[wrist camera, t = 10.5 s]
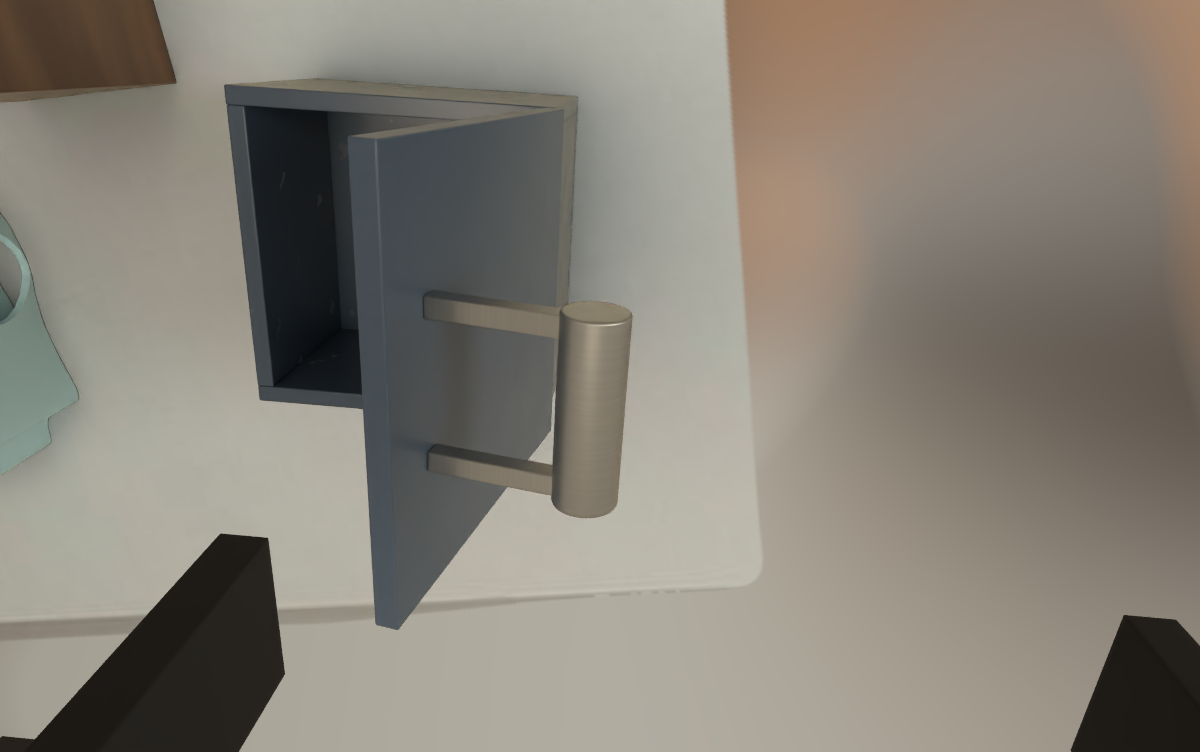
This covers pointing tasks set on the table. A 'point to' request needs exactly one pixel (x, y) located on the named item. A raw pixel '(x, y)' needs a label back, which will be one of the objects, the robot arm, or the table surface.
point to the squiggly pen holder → (27, 370)
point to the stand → (79, 48)
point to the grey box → (335, 215)
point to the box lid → (473, 342)
